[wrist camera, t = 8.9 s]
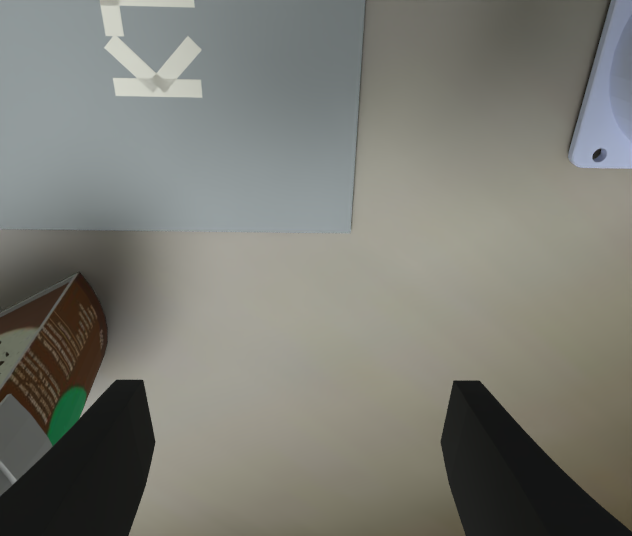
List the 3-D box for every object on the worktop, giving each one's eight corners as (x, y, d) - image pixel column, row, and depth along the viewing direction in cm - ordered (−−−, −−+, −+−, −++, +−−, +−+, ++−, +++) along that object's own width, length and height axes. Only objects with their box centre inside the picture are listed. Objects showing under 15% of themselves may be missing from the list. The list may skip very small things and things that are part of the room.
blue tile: (379, -238, 13) (380, -242, 13) (349, 231, 20) (350, 233, 20) (-154, -261, 13) (-161, -264, 13) (1, 227, 20) (-2, 229, 20)
